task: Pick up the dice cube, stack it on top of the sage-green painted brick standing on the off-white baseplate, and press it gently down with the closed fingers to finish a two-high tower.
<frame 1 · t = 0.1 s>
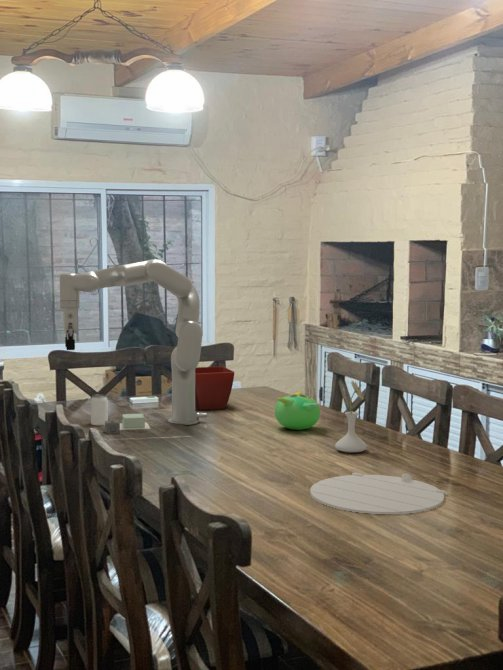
hand: (70, 348, 355), 31 cm above the table, tool pointing down, fingers open, 9 cm apart
baseplate: (133, 427, 357), on the table
toy bird: (297, 429, 358), on the table
flower in vase: (351, 451, 323), on the table
sage brick: (133, 425, 357), point 1 cm above the table, touching baseplate
plant pot: (208, 407, 402), on the table
lazy susan: (377, 496, 268), on the table
can: (99, 426, 361), on the table
dice cube: (112, 435, 345), on the table
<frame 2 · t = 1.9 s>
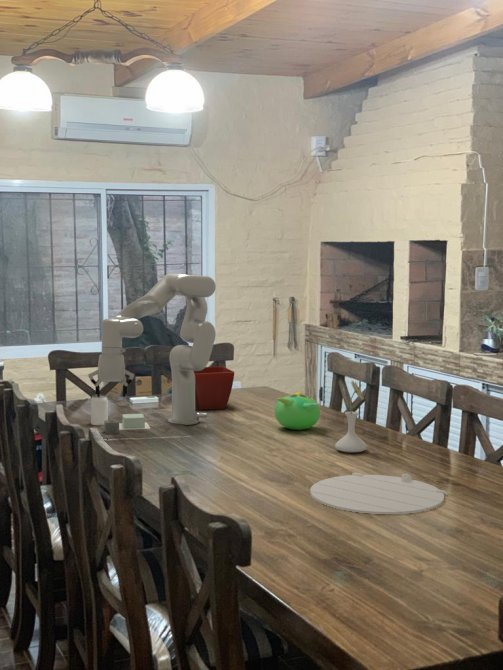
hand: (111, 396, 343), 15 cm above the table, tool pointing down, fingers open, 9 cm apart
nothing on the table moved.
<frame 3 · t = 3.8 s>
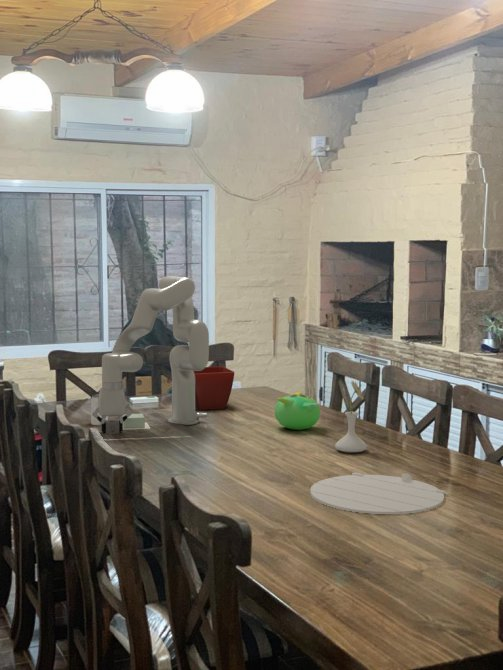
hand: (112, 432, 345), 1 cm above the table, tool pointing down, fingers closed on dice cube, 5 cm apart
dice cube: (112, 434, 345), on the table, touching gripper
everything else where it was.
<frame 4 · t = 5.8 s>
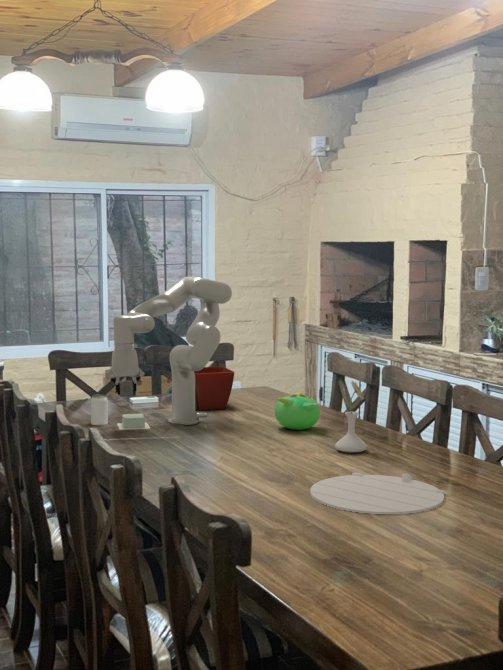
hand: (126, 393, 350), 15 cm above the table, tool pointing down, fingers closed on dice cube, 5 cm apart
dice cube: (126, 395, 351), point 14 cm above the table, touching gripper
everything else where it was.
when the fingers open (6 cm above the table, at t = 8.3 s): dice cube stays where it is, resting on sage brick.
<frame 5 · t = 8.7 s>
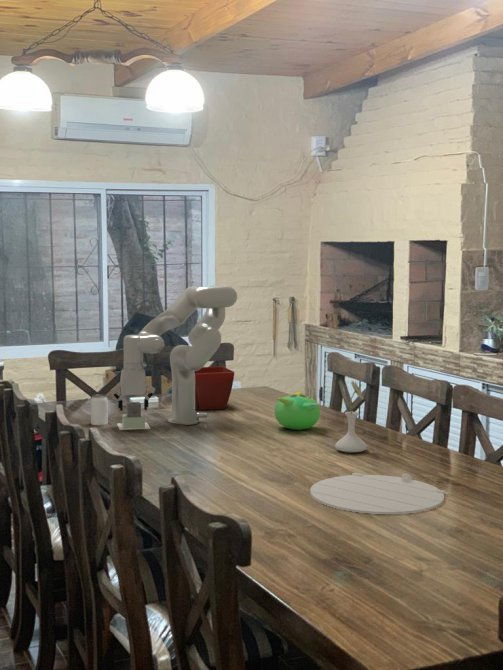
hand: (133, 409, 356), 7 cm above the table, tool pointing down, fingers open, 9 cm apart
sage brick: (133, 425, 357), point 1 cm above the table, touching baseplate, dice cube
dice cube: (133, 416, 357), point 5 cm above the table, touching sage brick
everything else where it was.
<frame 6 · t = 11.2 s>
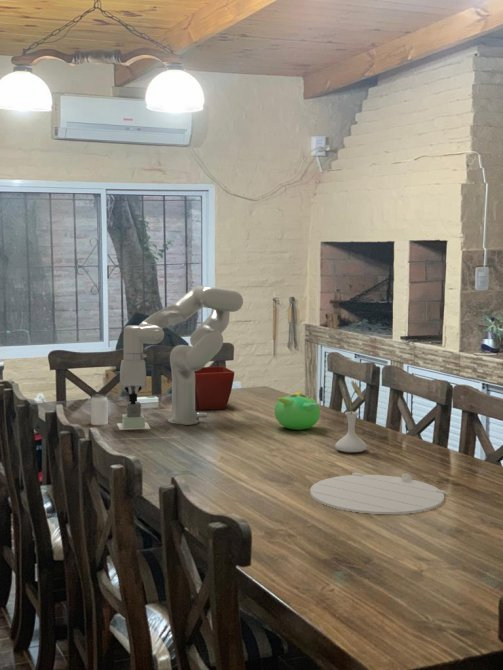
hand: (133, 403, 356), 10 cm above the table, tool pointing down, fingers closed
dice cube: (133, 416, 357), point 5 cm above the table, touching gripper, sage brick
everything else where it was.
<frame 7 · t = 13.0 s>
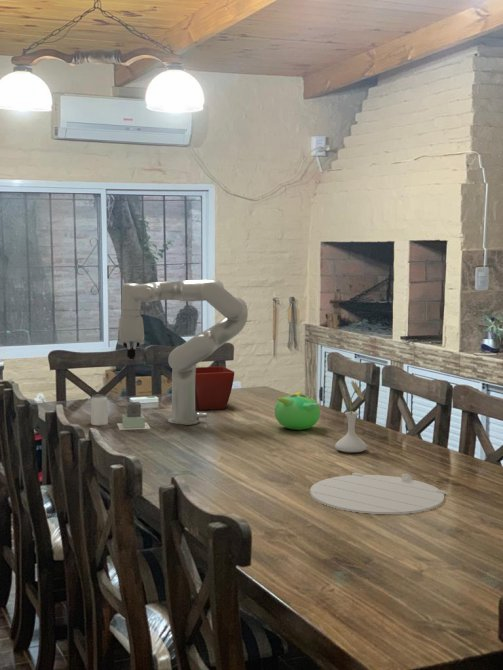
hand: (131, 358, 367), 26 cm above the table, tool pointing down, fingers closed
dice cube: (133, 416, 357), point 5 cm above the table, touching sage brick
everything else where it was.
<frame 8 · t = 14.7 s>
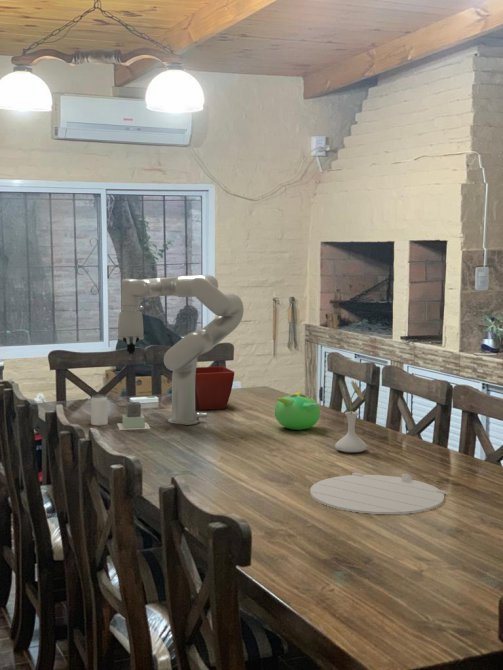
hand: (130, 353, 372), 27 cm above the table, tool pointing down, fingers closed
nothing on the table moved.
at the end: dice cube 0.6 cm off-centre on the sage brick, point 3.8 cm above the sage brick's base; dice cube tilted 0°; the gripper is holding nothing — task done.
